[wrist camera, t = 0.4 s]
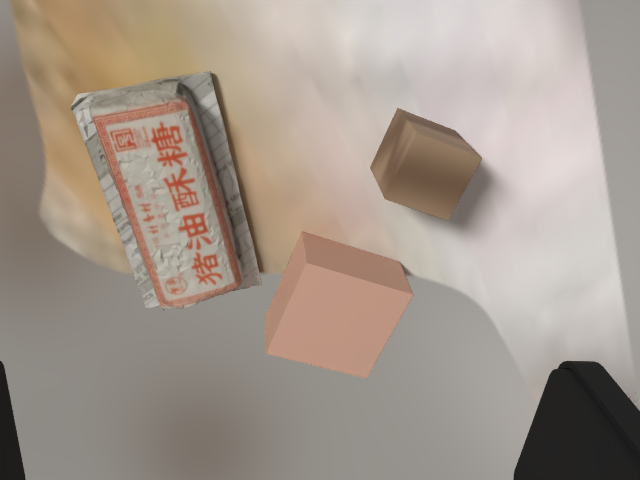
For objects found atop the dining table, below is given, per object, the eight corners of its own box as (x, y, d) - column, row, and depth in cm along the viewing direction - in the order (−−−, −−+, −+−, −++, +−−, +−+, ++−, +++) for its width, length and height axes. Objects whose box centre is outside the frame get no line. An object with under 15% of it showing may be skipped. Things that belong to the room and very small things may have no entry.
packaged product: (49, 111, 36) (206, 83, 36) (72, 92, 40) (211, 67, 40) (138, 334, 44) (263, 311, 44) (149, 299, 49) (263, 278, 49)
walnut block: (397, 107, 42) (417, 133, 37) (455, 130, 43) (482, 157, 38) (369, 167, 44) (384, 199, 39) (425, 187, 45) (447, 220, 40)
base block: (302, 231, 46) (306, 262, 42) (399, 261, 49) (413, 294, 44) (265, 316, 50) (266, 353, 46) (357, 341, 52) (366, 378, 48)
